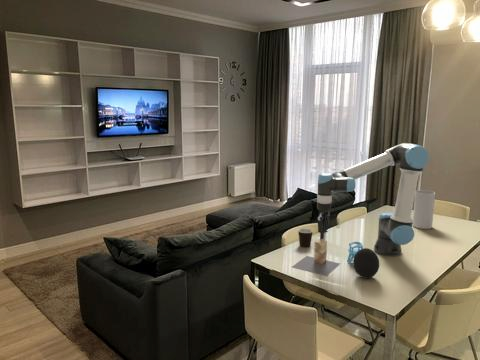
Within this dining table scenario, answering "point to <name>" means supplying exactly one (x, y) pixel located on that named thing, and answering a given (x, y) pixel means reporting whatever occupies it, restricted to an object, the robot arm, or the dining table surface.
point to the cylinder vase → (423, 209)
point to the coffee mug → (305, 237)
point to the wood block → (320, 251)
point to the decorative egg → (366, 263)
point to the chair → (353, 251)
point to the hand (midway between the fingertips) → (322, 243)
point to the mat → (316, 266)
